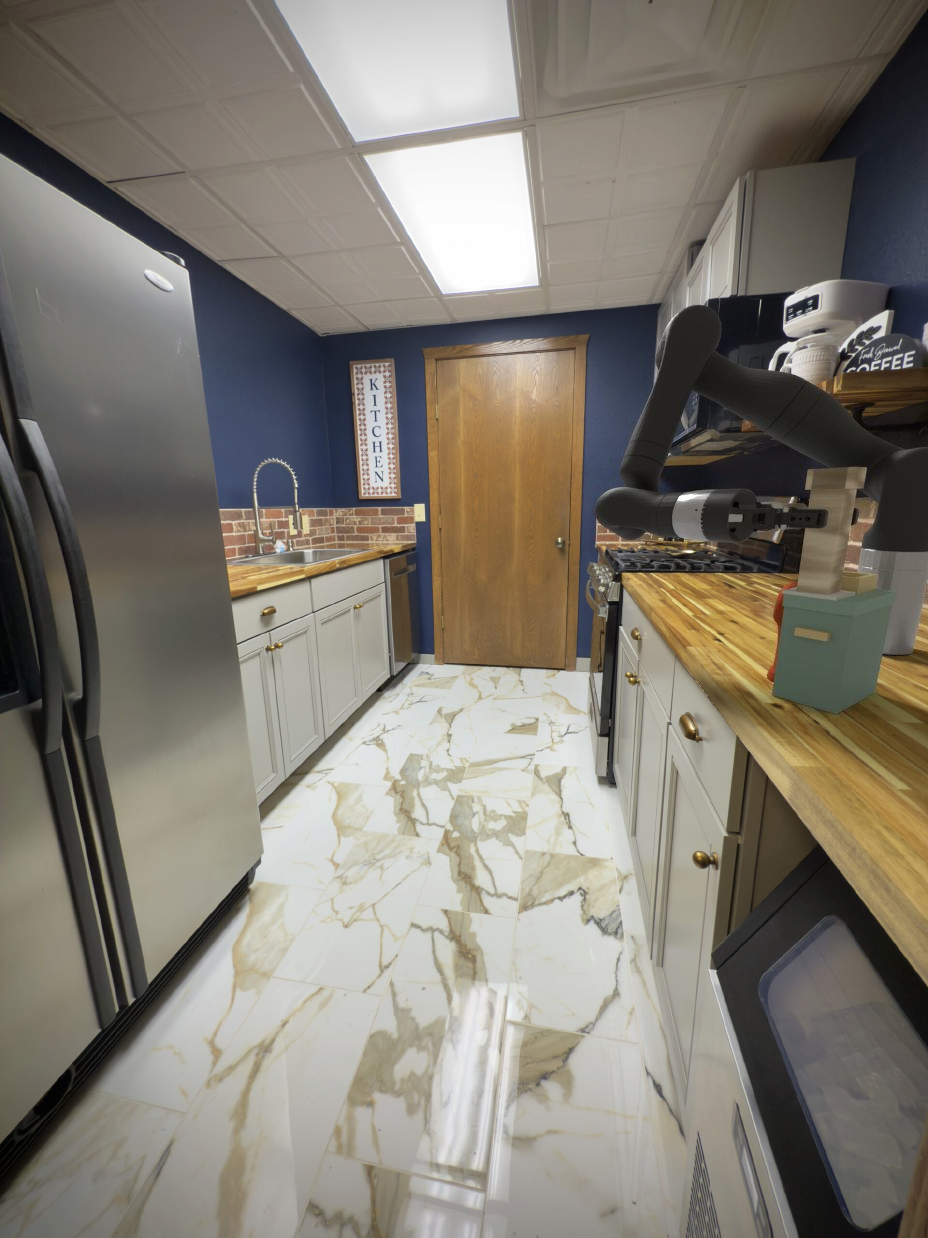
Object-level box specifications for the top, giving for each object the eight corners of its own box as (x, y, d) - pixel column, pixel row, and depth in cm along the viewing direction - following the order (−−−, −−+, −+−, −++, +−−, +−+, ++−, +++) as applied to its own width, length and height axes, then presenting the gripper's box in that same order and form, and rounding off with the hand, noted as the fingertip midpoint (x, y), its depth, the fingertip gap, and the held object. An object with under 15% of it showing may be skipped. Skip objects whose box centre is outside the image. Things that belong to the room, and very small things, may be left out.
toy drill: (814, 649, 83) (821, 562, 78) (802, 696, 69) (810, 593, 65) (780, 646, 86) (785, 561, 81) (762, 690, 72) (767, 591, 68)
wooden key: (803, 587, 65) (820, 469, 62) (846, 592, 61) (866, 467, 58) (790, 590, 63) (807, 469, 60) (834, 595, 60) (854, 466, 56)
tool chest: (812, 675, 74) (828, 569, 70) (878, 691, 67) (901, 575, 63) (765, 695, 66) (781, 578, 63) (834, 716, 60) (857, 586, 56)
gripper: (687, 489, 68) (820, 485, 55) (742, 489, 75) (871, 485, 62) (682, 544, 70) (810, 552, 56) (736, 538, 77) (861, 545, 64)
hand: (842, 517), depth 59 cm, fingers open, 8 cm apart
